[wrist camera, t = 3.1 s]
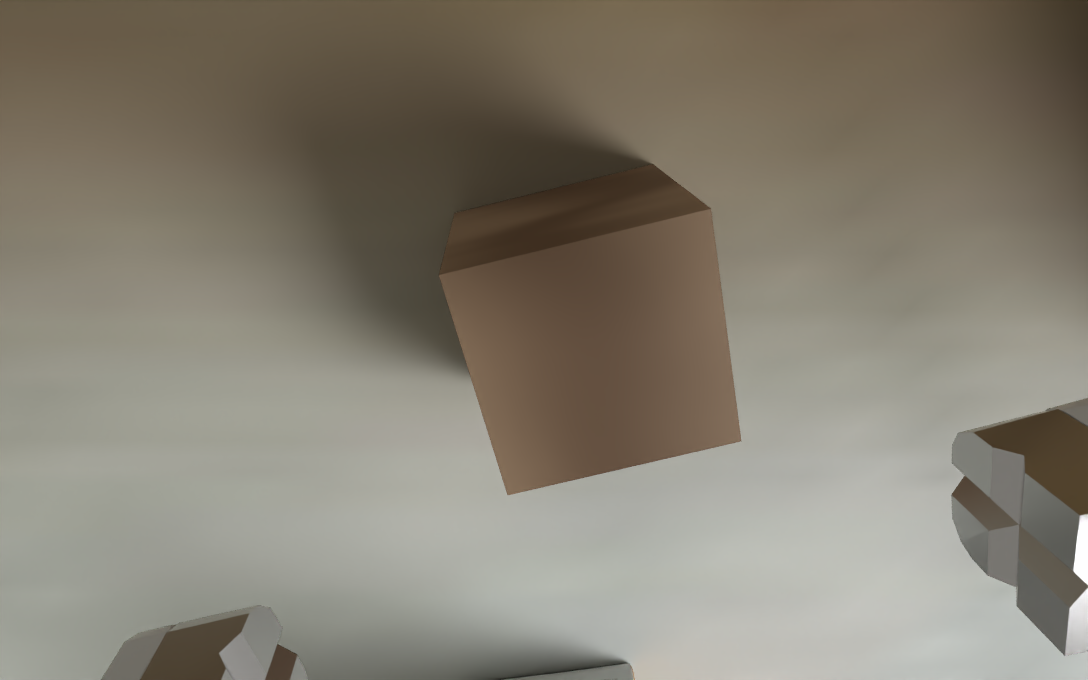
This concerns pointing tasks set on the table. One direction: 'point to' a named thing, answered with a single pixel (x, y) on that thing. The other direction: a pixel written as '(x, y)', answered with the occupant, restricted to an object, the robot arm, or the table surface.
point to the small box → (588, 674)
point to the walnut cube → (592, 326)
